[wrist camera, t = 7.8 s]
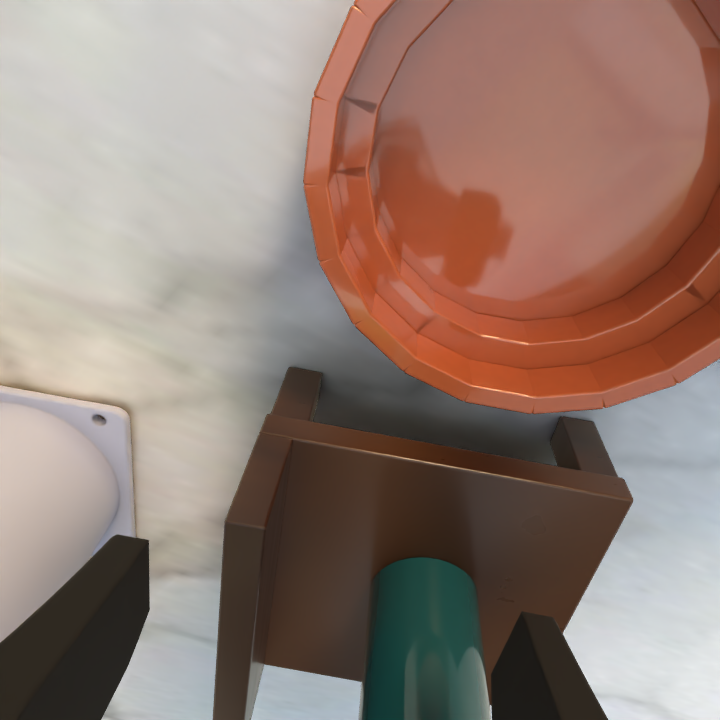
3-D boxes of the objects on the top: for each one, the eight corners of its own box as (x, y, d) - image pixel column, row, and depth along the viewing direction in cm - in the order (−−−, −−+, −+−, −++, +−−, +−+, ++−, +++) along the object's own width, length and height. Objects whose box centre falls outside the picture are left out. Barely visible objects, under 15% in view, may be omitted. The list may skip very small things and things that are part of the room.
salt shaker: (361, 618, 20) (342, 820, 15) (379, 547, 19) (364, 748, 13) (462, 637, 20) (478, 844, 15) (490, 567, 19) (519, 775, 13)
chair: (262, 575, 26) (209, 760, 19) (286, 362, 20) (224, 521, 14) (507, 619, 26) (538, 819, 19) (597, 419, 20) (683, 604, 14)
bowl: (303, 316, 19) (282, 369, 16) (363, -165, 13) (346, -222, 10) (666, 382, 19) (712, 448, 16) (891, -66, 13) (1032, -94, 10)
